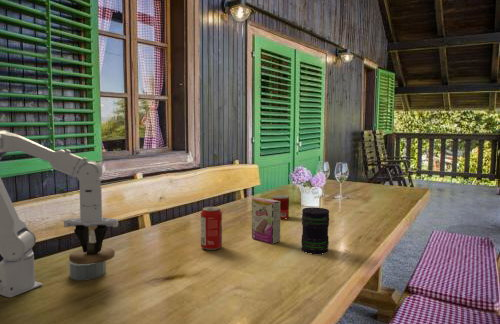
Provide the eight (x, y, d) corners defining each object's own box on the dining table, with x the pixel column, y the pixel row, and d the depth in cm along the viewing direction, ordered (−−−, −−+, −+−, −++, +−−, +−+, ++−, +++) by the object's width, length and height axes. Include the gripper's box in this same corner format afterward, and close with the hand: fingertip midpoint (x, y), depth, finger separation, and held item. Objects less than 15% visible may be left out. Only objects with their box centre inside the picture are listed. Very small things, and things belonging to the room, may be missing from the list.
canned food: (291, 217, 195) (291, 195, 194) (283, 220, 189) (284, 198, 188) (277, 215, 199) (277, 194, 198) (269, 218, 193) (270, 196, 192)
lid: (90, 269, 105) (90, 251, 104) (59, 262, 110) (59, 245, 110) (123, 256, 115) (123, 240, 115) (93, 251, 121) (93, 235, 120)
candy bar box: (251, 239, 158) (251, 198, 157) (259, 236, 162) (259, 197, 160) (272, 244, 150) (273, 202, 149) (280, 242, 154) (281, 200, 153)
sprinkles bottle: (91, 250, 143) (90, 213, 142) (104, 249, 143) (103, 213, 142) (87, 254, 138) (86, 216, 137) (101, 254, 139) (99, 216, 138)
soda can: (197, 249, 144) (196, 209, 143) (206, 243, 151) (206, 205, 150) (216, 252, 141) (216, 211, 140) (225, 246, 149) (225, 206, 147)
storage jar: (312, 244, 151) (312, 206, 150) (333, 250, 144) (334, 210, 143) (295, 250, 144) (296, 210, 143) (317, 256, 137) (318, 214, 136)
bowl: (86, 282, 114) (85, 267, 113) (62, 276, 118) (61, 261, 118) (112, 271, 123) (111, 257, 122) (89, 265, 127) (88, 252, 127)
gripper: (58, 207, 107) (60, 256, 108) (112, 207, 108) (113, 255, 109) (69, 202, 114) (70, 248, 115) (120, 202, 115) (121, 247, 116)
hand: (92, 251), depth 113 cm, fingers closed on lid, 3 cm apart
